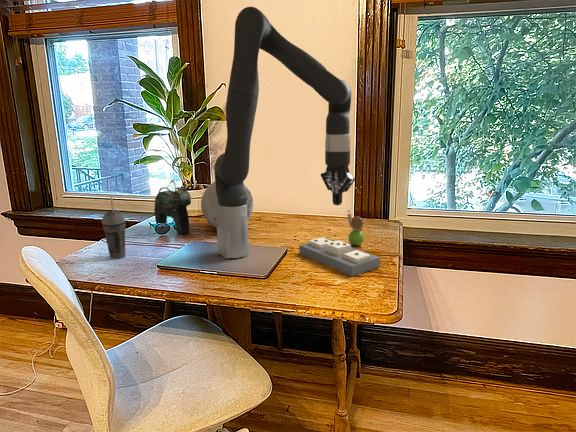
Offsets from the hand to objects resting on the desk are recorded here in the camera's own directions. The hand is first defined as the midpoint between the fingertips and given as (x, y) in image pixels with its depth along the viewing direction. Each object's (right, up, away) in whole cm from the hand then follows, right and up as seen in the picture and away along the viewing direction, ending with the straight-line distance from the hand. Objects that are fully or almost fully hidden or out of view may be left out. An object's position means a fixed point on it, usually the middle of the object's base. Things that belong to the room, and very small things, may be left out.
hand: (337, 204), depth 137 cm
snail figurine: (+8, -14, +17) cm, 23 cm away
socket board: (0, -18, +3) cm, 18 cm away
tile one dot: (+5, -18, -4) cm, 19 cm away
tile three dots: (0, -15, +2) cm, 15 cm away
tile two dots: (-4, -14, +8) cm, 17 cm away
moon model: (-39, -9, +36) cm, 53 cm away
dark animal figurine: (-60, -10, +34) cm, 70 cm away
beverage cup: (-71, -17, +6) cm, 73 cm away
